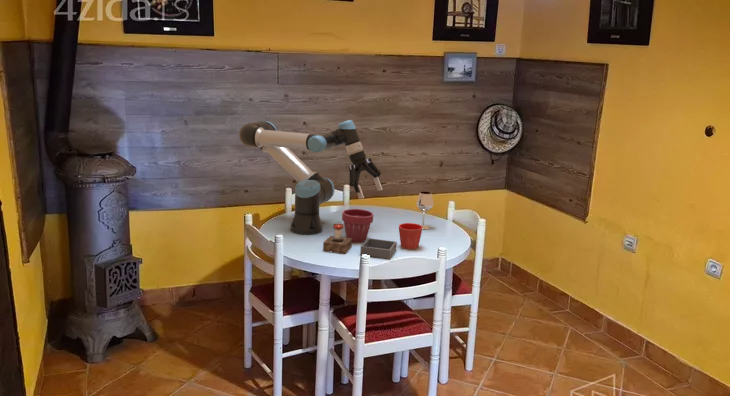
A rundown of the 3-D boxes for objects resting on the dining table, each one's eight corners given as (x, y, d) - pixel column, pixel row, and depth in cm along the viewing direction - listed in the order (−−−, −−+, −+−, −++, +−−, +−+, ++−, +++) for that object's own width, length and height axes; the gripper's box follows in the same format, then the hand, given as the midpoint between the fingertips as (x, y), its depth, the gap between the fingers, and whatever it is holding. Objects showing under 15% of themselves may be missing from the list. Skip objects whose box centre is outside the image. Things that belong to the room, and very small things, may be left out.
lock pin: (331, 249, 265) (332, 225, 262) (334, 246, 269) (335, 223, 266) (340, 251, 264) (342, 226, 261) (343, 248, 268) (344, 224, 265)
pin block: (323, 250, 263) (323, 242, 262) (330, 244, 272) (330, 235, 271) (345, 253, 261) (345, 245, 260) (351, 247, 270) (352, 238, 269)
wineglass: (430, 230, 301) (433, 195, 297) (413, 228, 303) (416, 193, 298) (431, 226, 309) (434, 191, 305) (415, 224, 310) (418, 190, 306)
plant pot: (376, 237, 285) (377, 211, 282) (365, 245, 273) (366, 218, 270) (348, 232, 291) (349, 207, 288) (336, 240, 278) (337, 213, 275)
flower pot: (392, 245, 275) (393, 225, 272) (408, 241, 282) (409, 221, 280) (410, 252, 268) (411, 231, 265) (426, 247, 275) (427, 226, 273)
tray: (360, 255, 260) (360, 246, 259) (367, 246, 272) (368, 238, 271) (389, 259, 257) (390, 250, 256) (396, 250, 269) (396, 241, 268)
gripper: (343, 156, 277) (359, 200, 278) (378, 144, 294) (393, 185, 296) (332, 160, 282) (348, 203, 284) (367, 148, 300) (382, 188, 301)
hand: (371, 194), depth 290 cm, fingers open, 13 cm apart
